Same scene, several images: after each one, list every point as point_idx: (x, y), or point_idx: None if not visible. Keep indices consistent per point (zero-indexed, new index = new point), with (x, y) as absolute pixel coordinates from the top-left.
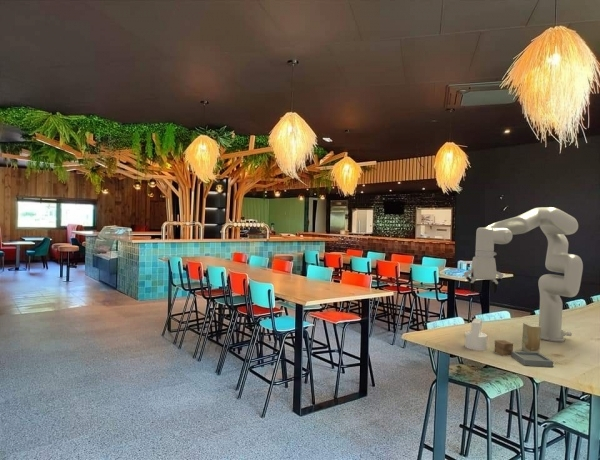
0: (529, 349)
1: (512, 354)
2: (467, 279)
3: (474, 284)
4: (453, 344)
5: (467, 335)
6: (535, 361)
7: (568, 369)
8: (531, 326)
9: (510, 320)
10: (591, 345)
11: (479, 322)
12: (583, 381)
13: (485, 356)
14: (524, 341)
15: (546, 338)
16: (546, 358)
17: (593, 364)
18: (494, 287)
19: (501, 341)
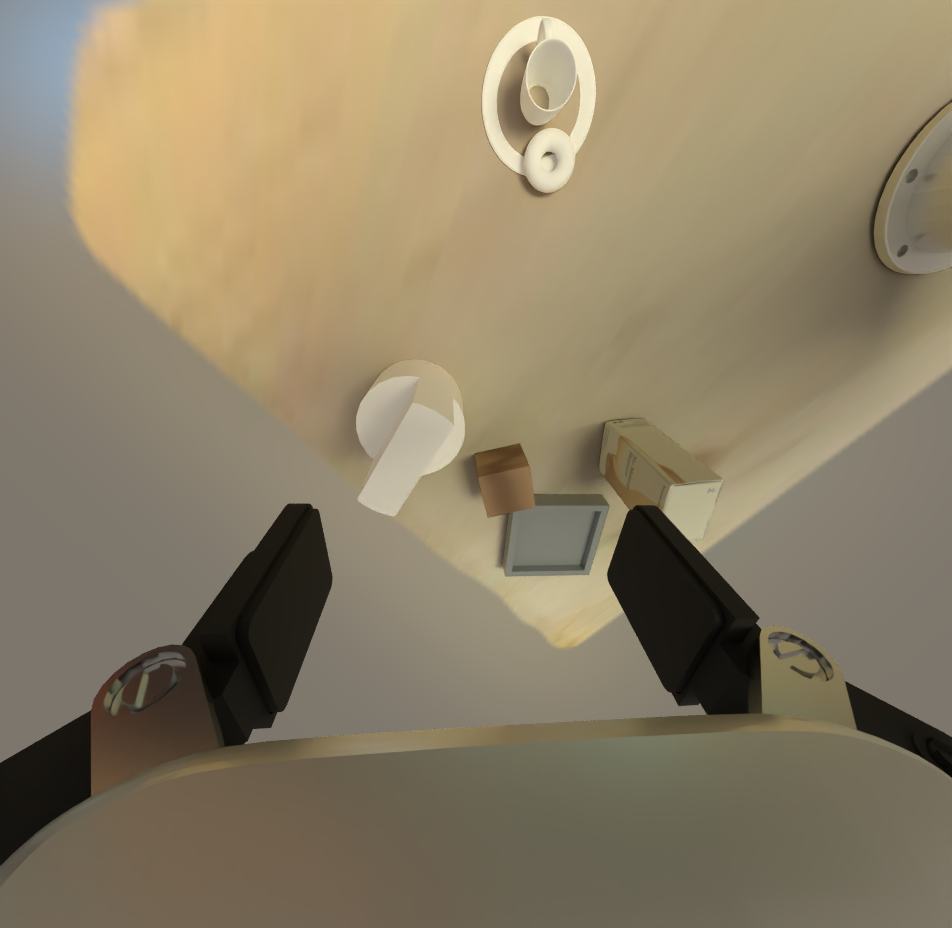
0: (605, 474)
1: None
2: (24, 776)
3: (289, 697)
4: (319, 372)
5: (361, 439)
6: (535, 573)
7: None
8: None
9: None
10: None
11: (404, 500)
12: (579, 627)
13: (413, 505)
14: (619, 456)
15: (886, 249)
16: (588, 554)
17: (727, 532)
18: (643, 640)
19: (501, 486)
